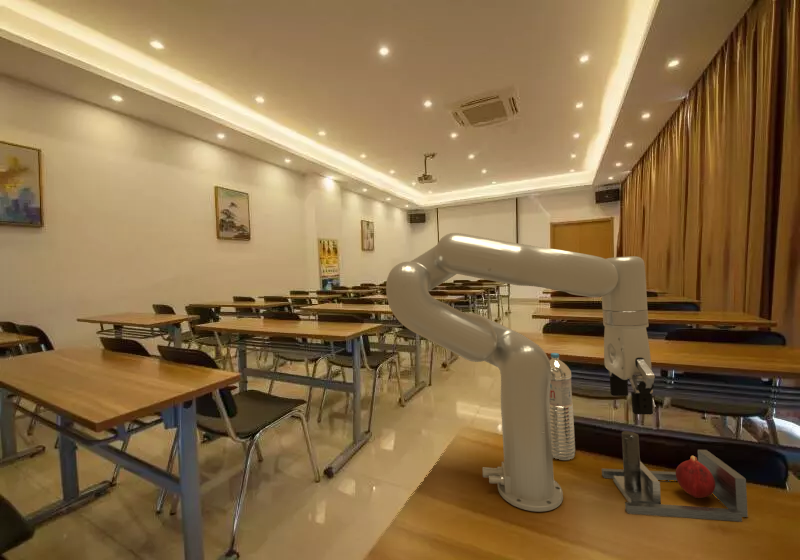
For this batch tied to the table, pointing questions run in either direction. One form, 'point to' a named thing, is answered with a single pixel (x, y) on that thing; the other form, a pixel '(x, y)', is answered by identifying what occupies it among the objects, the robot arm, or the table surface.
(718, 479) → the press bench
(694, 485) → the pomegranate
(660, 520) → the table surface
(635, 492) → the carriage
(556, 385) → the water bottle
